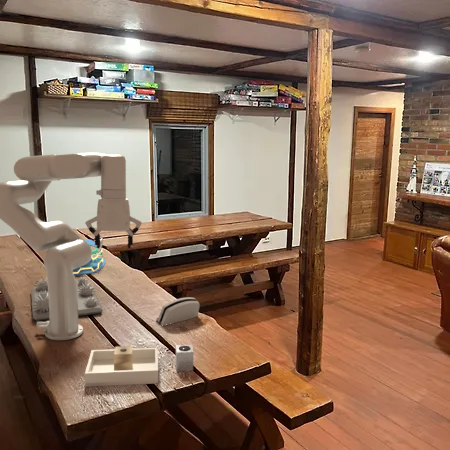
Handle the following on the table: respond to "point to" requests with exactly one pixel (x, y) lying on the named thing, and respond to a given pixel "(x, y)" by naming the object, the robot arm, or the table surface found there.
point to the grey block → (184, 357)
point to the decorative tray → (85, 300)
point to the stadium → (92, 260)
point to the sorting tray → (106, 376)
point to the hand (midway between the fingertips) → (114, 247)
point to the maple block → (123, 358)
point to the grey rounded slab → (178, 310)
